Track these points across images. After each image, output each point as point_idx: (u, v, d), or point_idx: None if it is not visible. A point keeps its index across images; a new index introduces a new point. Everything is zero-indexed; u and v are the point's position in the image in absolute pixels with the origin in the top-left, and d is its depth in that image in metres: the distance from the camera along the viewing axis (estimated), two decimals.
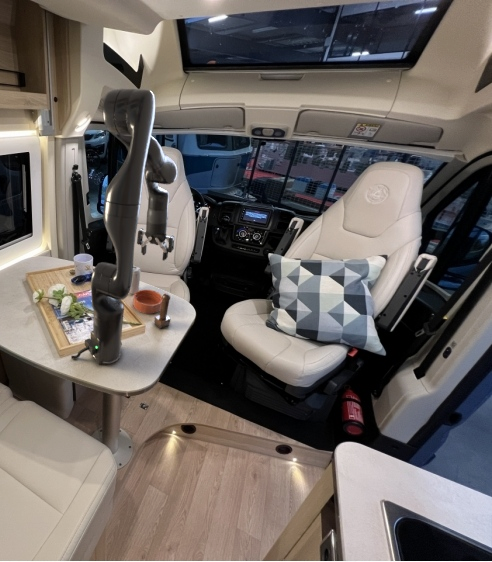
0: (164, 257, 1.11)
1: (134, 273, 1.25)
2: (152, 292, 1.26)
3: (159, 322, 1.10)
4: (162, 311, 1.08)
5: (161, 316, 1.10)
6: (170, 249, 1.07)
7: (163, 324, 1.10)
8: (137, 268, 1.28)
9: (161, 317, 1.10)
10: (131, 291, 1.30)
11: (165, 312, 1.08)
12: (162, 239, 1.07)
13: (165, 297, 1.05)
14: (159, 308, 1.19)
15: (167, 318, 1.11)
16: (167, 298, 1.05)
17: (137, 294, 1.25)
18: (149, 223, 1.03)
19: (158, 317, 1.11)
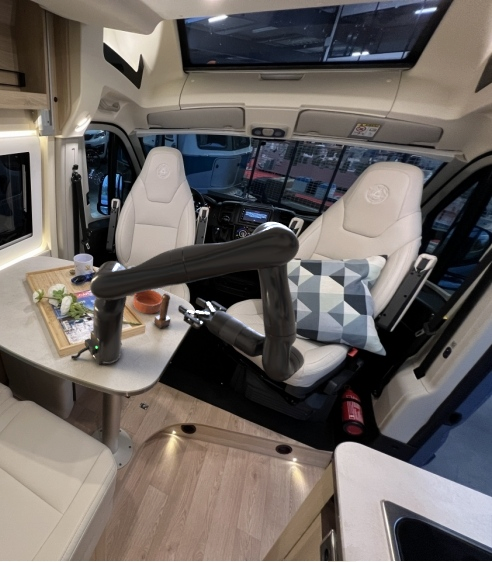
0: (182, 307, 0.94)
1: None
2: (152, 292, 1.26)
3: (159, 322, 1.10)
4: (162, 311, 1.08)
5: (161, 316, 1.10)
6: (188, 315, 0.89)
7: (163, 324, 1.10)
8: None
9: (161, 317, 1.10)
10: None
11: (165, 312, 1.08)
12: (203, 317, 0.89)
13: (165, 297, 1.05)
14: (159, 308, 1.19)
15: (167, 318, 1.11)
16: (167, 298, 1.05)
17: (137, 294, 1.25)
18: None
19: (158, 317, 1.11)
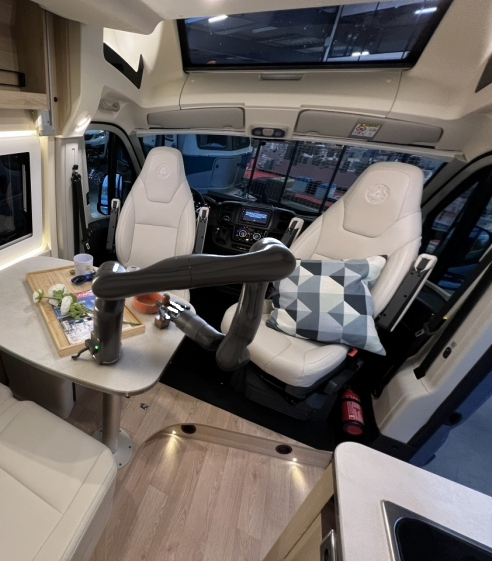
0: (158, 302, 1.08)
1: None
2: None
3: (159, 322, 1.10)
4: None
5: None
6: (162, 309, 1.04)
7: (163, 324, 1.10)
8: (137, 268, 1.28)
9: None
10: None
11: None
12: (172, 315, 1.01)
13: (165, 297, 1.05)
14: None
15: None
16: (167, 298, 1.05)
17: None
18: (196, 315, 0.97)
19: (158, 317, 1.11)
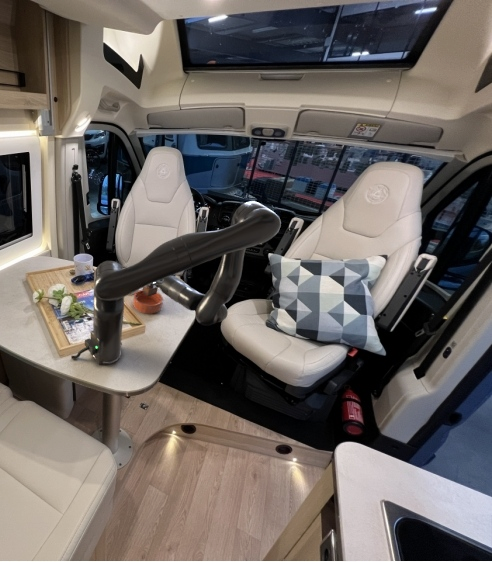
0: None
1: None
2: None
3: (147, 290, 1.17)
4: None
5: None
6: None
7: (150, 292, 1.18)
8: None
9: None
10: None
11: None
12: (157, 280, 1.08)
13: None
14: (159, 308, 1.19)
15: (154, 286, 1.18)
16: None
17: (137, 294, 1.25)
18: (179, 279, 1.05)
19: None
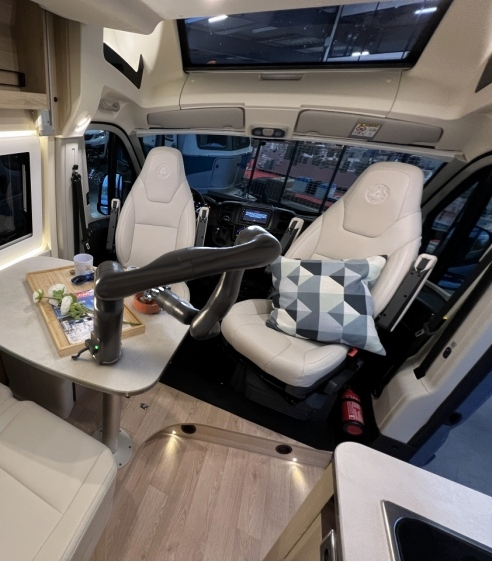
0: None
1: None
2: None
3: (143, 302, 1.20)
4: None
5: None
6: None
7: (147, 304, 1.20)
8: (137, 268, 1.28)
9: None
10: None
11: None
12: (153, 294, 1.11)
13: None
14: (159, 308, 1.19)
15: (150, 299, 1.21)
16: None
17: (137, 294, 1.25)
18: (174, 294, 1.07)
19: (142, 298, 1.21)
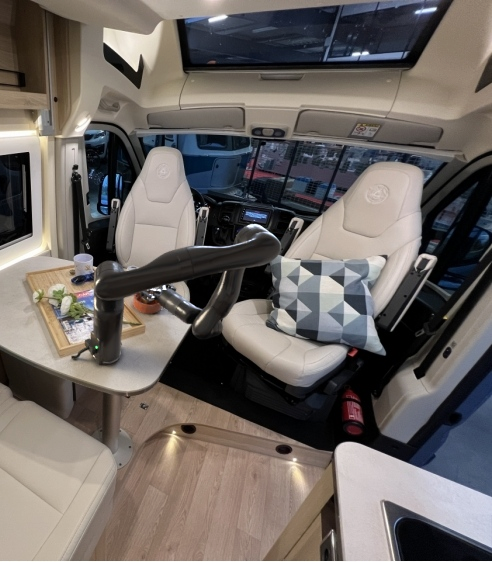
0: None
1: None
2: None
3: (145, 302, 1.20)
4: (148, 292, 1.19)
5: None
6: (143, 291, 1.12)
7: (149, 304, 1.20)
8: None
9: None
10: None
11: None
12: (155, 293, 1.11)
13: None
14: (159, 308, 1.19)
15: None
16: None
17: (137, 294, 1.25)
18: (176, 293, 1.08)
19: None
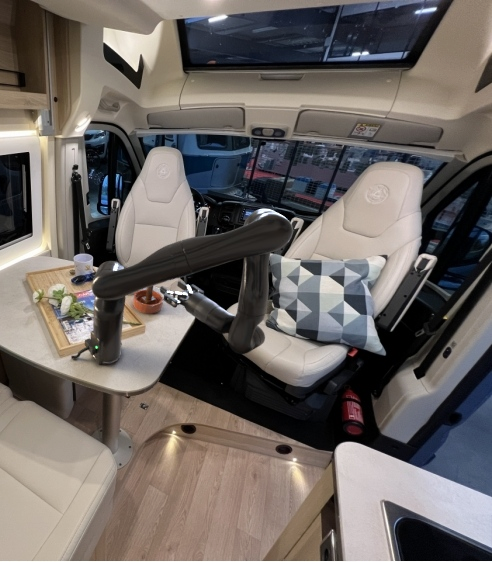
0: (163, 288, 1.02)
1: None
2: None
3: (145, 302, 1.20)
4: (148, 292, 1.19)
5: (147, 296, 1.20)
6: (167, 295, 0.98)
7: (149, 304, 1.20)
8: None
9: (147, 297, 1.20)
10: None
11: (150, 293, 1.19)
12: (181, 297, 0.97)
13: None
14: (159, 308, 1.19)
15: (152, 299, 1.21)
16: None
17: (137, 294, 1.25)
18: (206, 297, 0.94)
19: (144, 298, 1.21)
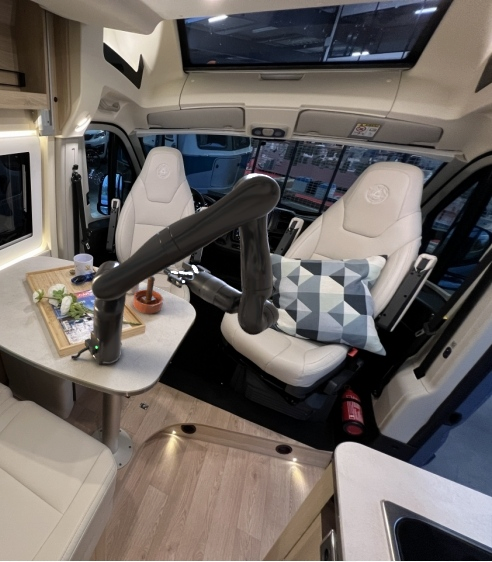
0: (167, 269, 0.95)
1: None
2: None
3: (145, 302, 1.20)
4: (148, 292, 1.19)
5: (147, 296, 1.20)
6: (171, 275, 0.91)
7: (149, 304, 1.20)
8: None
9: (147, 297, 1.20)
10: (131, 291, 1.30)
11: (150, 293, 1.19)
12: (186, 277, 0.91)
13: (150, 278, 1.15)
14: (159, 308, 1.19)
15: (152, 299, 1.21)
16: (152, 279, 1.15)
17: (137, 294, 1.25)
18: (213, 276, 0.87)
19: (144, 298, 1.21)
